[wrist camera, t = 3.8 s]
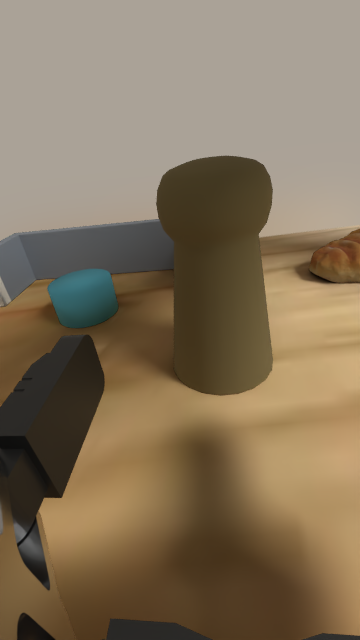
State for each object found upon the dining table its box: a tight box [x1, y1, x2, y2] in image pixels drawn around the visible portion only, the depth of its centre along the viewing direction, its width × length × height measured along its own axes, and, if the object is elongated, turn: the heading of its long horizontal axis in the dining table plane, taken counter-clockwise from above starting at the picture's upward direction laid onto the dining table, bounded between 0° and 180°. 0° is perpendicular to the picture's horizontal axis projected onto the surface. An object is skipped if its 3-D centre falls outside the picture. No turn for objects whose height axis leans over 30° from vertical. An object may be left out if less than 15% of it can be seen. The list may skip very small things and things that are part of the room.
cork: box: [156, 156, 273, 395], centre depth 16 cm, size 6×6×11 cm
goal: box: [0, 219, 174, 307], centre depth 29 cm, size 20×7×7 cm, turn 85°
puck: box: [48, 269, 118, 328], centre depth 25 cm, size 5×5×3 cm
